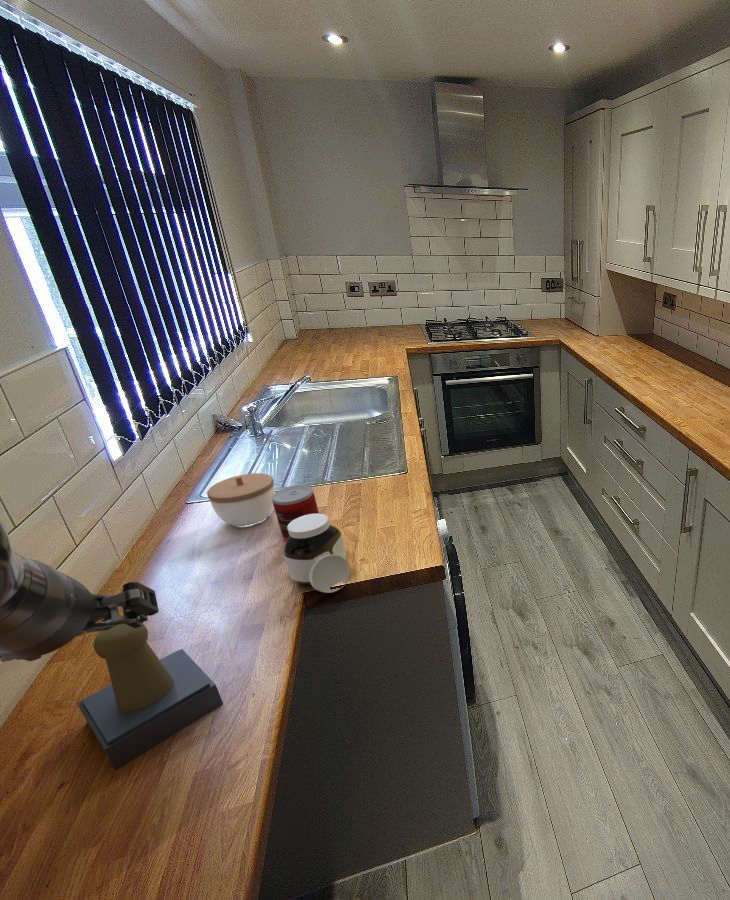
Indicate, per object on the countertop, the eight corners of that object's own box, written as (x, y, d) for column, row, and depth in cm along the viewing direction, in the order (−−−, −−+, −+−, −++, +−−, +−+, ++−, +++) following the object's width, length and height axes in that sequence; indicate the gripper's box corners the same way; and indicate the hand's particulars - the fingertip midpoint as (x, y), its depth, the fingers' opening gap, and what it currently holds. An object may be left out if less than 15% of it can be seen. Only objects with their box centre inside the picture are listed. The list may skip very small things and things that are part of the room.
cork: (115, 692, 71) (83, 628, 67) (170, 668, 75) (143, 606, 71) (119, 719, 67) (85, 653, 63) (177, 692, 71) (149, 628, 67)
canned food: (318, 524, 119) (307, 481, 115) (328, 539, 113) (317, 494, 109) (280, 536, 115) (268, 491, 110) (288, 552, 109) (275, 506, 105)
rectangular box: (115, 770, 65) (103, 747, 63) (87, 722, 71) (75, 700, 70) (223, 703, 74) (215, 682, 72) (189, 666, 80) (181, 646, 79)
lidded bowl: (269, 531, 116) (256, 487, 112) (207, 537, 115) (191, 492, 110) (291, 504, 128) (279, 463, 124) (235, 509, 126) (221, 467, 122)
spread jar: (320, 557, 107) (307, 507, 102) (371, 562, 105) (360, 512, 101) (277, 595, 96) (261, 541, 92) (333, 601, 94) (319, 546, 90)
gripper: (115, 541, 50) (163, 579, 63) (-115, 596, 42) (-6, 627, 56) (129, 616, 48) (175, 639, 61) (-109, 689, 40) (1, 697, 54)
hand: (88, 633), depth 58 cm, fingers open, 8 cm apart
